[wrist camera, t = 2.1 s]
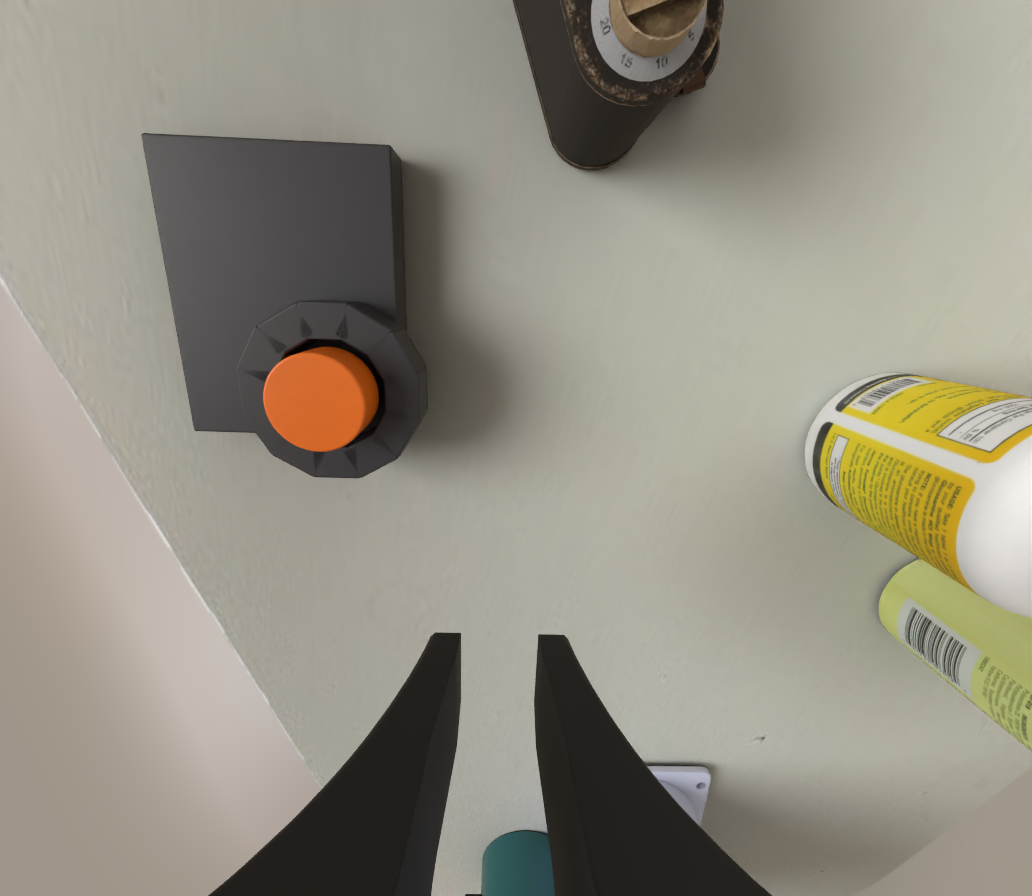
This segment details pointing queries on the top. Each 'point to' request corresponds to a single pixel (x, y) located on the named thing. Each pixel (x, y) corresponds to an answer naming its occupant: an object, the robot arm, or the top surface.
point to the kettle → (518, 866)
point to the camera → (614, 67)
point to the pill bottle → (935, 476)
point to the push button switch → (287, 280)
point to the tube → (965, 642)
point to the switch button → (320, 398)
